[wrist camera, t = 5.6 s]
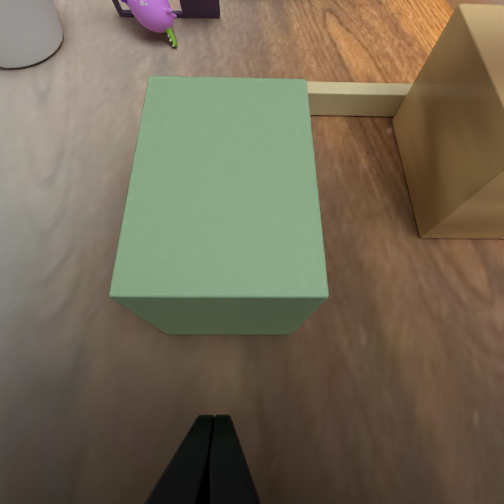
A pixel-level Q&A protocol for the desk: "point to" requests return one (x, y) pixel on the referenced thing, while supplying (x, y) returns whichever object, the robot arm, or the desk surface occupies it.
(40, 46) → the candle
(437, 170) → the maple block
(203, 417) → the robot arm
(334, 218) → the desk surface
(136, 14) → the game card
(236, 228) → the green block
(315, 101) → the straightedge
